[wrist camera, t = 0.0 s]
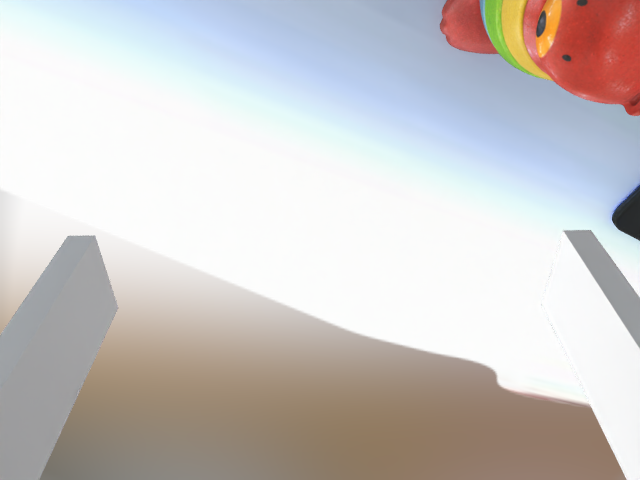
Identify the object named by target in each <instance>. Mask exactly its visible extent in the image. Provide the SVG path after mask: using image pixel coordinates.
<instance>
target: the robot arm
mask: <svg viewBox="0 0 640 480" xmlns="http://www.w3.org/2000/svg"><path fill="white" fill-rule="evenodd" d="M541 305H542V307H543V309H544V311H545V313H546V315H547V318H548V320H549V322H550V324H551V326H552V328H553V330H554V332H555V334H556V336H557V338H558V340H559V342H560V344H561V346H562V348H563V350H564V352H565V354H566V356H567V358H568V360H569V362H570V364H571V367H572V369H573V371H574V373H575V375H576V377H577V379H578V381H579V383H580V385H581V387H582V389H583V391H584V393H585V395H586V397H587V399H588V401H589V403H590V405H591V407H592V409H593V411H594V413H595V416H596V418H597V420H598V422H599V424H600V426H601V428H602V430H603V432H604V434H605V436H606V438H607V440H608V442H609V444H610V446H611V448H612V450H613V452H614V454H615V456H616V458H617V460H618V462H619V465H620V466H621V468H622V471H623V473H624V475H625V476H626V479H627V480H640V298H639V296H638V295H637V293H636V292H635V291H634V289H633V288H632V286H631V285H630V284H629V282H628V281H627V280H626V278H625V277H624V275H623V274H622V273H621V271H620V270H619V268H618V267H617V266H616V264H615V263H614V262H613V260H612V259H611V257H610V256H609V255H608V253H607V252H606V250H605V249H604V248H603V246H602V245H601V244H600V242H599V241H598V239H597V238H596V237H595V235H594V234H593V233H592V231H591V230H573V231H563V233H562V236H561V240H560V243H559V246H558V250H557V253H556V256H555V259H554V263H553V266H552V269H551V273H550V276H549V279H548V283H547V286H546V289H545V293H544V296H543V299H542V303H541ZM117 309H118V306H117V302H116V300H115V296H114V293H113V290H112V287H111V284H110V281H109V278H108V275H107V271H106V269H105V265H104V262H103V259H102V256H101V253H100V250H99V246H98V243H97V240H96V238H95V236H68V237H67V238H66V240H65V241H64V243H63V244H62V246H61V247H60V248H59V250H58V251H57V253H56V254H55V256H54V257H53V259H52V260H51V262H50V263H49V265H48V266H47V267H46V269H45V271H44V272H43V273H42V275H41V276H40V278H39V279H38V281H37V282H36V284H35V285H34V286H33V288H32V289H31V291H30V292H29V294H28V295H27V297H26V298H25V300H24V301H23V303H22V304H21V306H20V307H19V308H18V310H17V311H16V313H15V314H14V316H13V317H12V319H11V320H10V322H9V323H8V325H7V326H6V327H5V329H4V330H3V332H2V333H1V335H0V480H39V478H40V476H41V474H42V472H43V470H44V468H45V465H46V463H47V461H48V459H49V457H50V455H51V453H52V450H53V448H54V446H55V444H56V441H57V439H58V437H59V435H60V433H61V431H62V428H63V427H64V424H65V422H66V420H67V418H68V416H69V414H70V411H71V409H72V407H73V405H74V403H75V401H76V398H77V396H78V394H79V392H80V390H81V387H82V385H83V383H84V381H85V379H86V377H87V374H88V372H89V370H90V368H91V366H92V364H93V362H94V359H95V357H96V355H97V353H98V351H99V349H100V346H101V344H102V342H103V340H104V338H105V335H106V333H107V331H108V329H109V327H110V325H111V322H112V320H113V318H114V316H115V314H116V312H117Z"/></svg>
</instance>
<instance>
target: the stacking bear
mask: <svg viewBox="0 0 640 480" xmlns="http://www.w3.org/2000/svg"><path fill="white" fill-rule="evenodd" d="M442 16H443V19H442V21H441V23H440V29H441V31H442V33H443V34H445V35H446V39H447V41H448V43H449V44H450V45H451V46H453V47H455V48H457V49H459V50H464V51H468V52H474V53H483V54H498V53H499V54H500V55H501V56H502V57H503V58H504V59H505V60H506V61H507V62H508V63H509V64H511V65H512V66H514V67H515V68H517V69H519V70H521V71H523V72H525V73H527V74H529V75H532V76H535V77H538V78H543V79H547V80H551V81H554V82H555V83H557V84H558V85H559V86H561V87H562V88H564V89H565V90H566V91H568V92H570V93H572V94H574V95H576V96H578V97H581V98H583V99H586V100H590V101H594V102H599V103H605V104H621V105H623V106H624V107H625V110H626V112H627V113H628V114H629V115H632V116H639V115H640V0H447V2H446V4H445V5H444V7H443V10H442Z"/></svg>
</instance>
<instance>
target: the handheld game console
mask: <svg viewBox="0 0 640 480" xmlns="http://www.w3.org/2000/svg"><path fill="white" fill-rule="evenodd" d="M612 221H613V223H614V225H615V226H616V227H617V228H618V229H619V230H621V231H622V232H624V233H626V234H628V235H630V236H632V237H634V238H636V239H638V240H640V186H639V187H638V188H637V189H636V190H635V191H634V192H633V193H632V194H631V195H630V196H629V197H628V198H627V199H626V200H625V201H624V202H623V203H622V204H621V205H619V206H618V207H617V209H616V210H615V211H614V213H613V215H612Z"/></svg>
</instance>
